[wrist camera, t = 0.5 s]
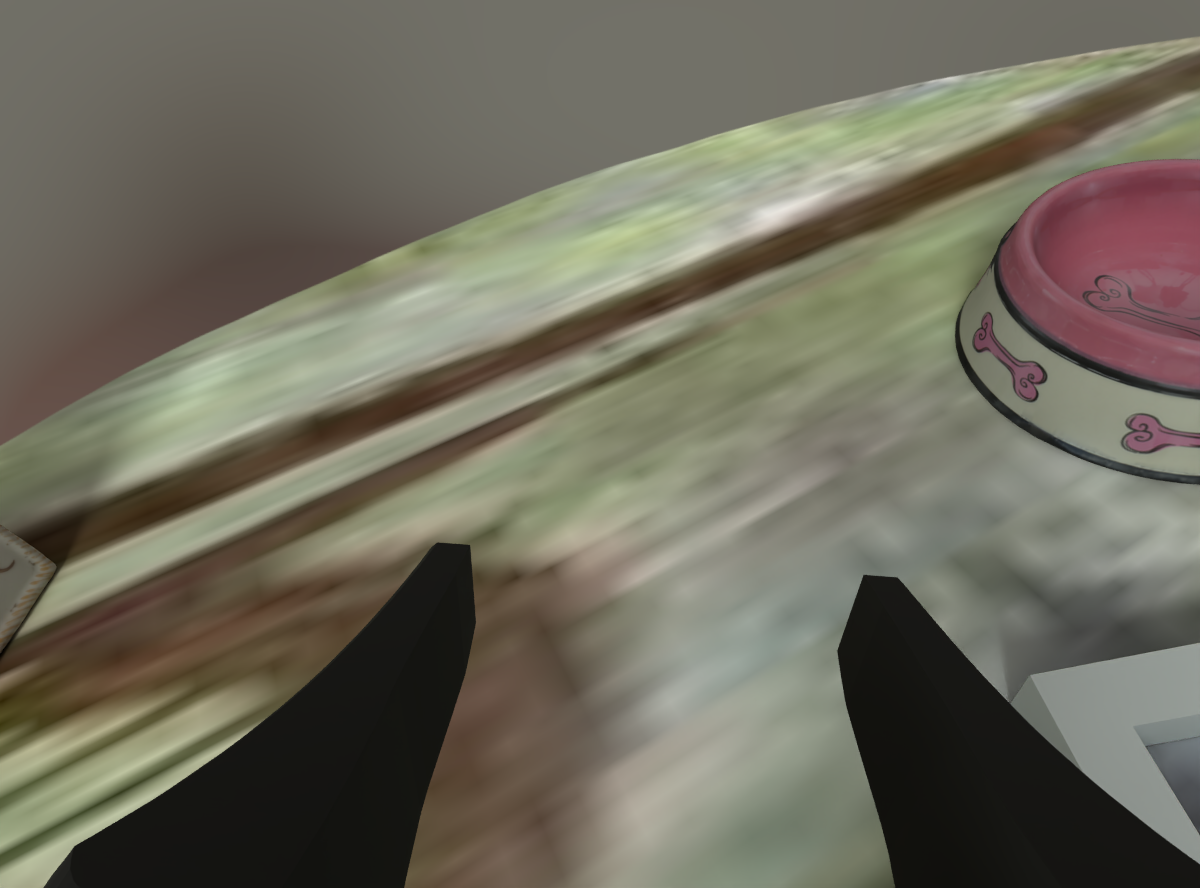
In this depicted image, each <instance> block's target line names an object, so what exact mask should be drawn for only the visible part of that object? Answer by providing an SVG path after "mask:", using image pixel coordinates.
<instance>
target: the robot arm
mask: <svg viewBox="0 0 1200 888" xmlns="http://www.w3.org/2000/svg"><path fill="white" fill-rule="evenodd" d="M475 624H476V617H475V604H474V591H473V577H472V564H471V551H470V545H463V544H450V543H436V544H435V545H434V546H432V547H431V549H430V550H429V551H428V553H427V554H426V555H425V556H424V558H423V559H422V560H421V562H420V563H419V564H418V565H417V567H416V568H415V569H414V570H413V572H412V573H411V574H410V575H409V577H408V578H407V579H406V580H405V582H404V583H403V584H402V585H401V586H400V588H399V589H398V590H397V591H396V592H395V594H394V595H393V596H392V597H391V598H390V599H389V600H388V602H387V603H386V604H385V605H384V606H383V607H382V608H381V609H380V611H379V612H378V613H377V614H376V615H375V616H374V617H373V618H372V620H371V621H370V622H369V623H368V624H367V625H366V626H365V627H364V628H363V629H362V631H361V632H360V633H359V634H358V635H357V636H356V637H355V638H354V639H353V640H352V641H351V642H350V643H349V644H348V645H347V646H346V647H345V648H344V649H343V650H342V651H341V652H340V653H339V654H338V655H337V656H336V657H335V658H334V659H333V660H332V661H331V662H330V663H329V664H328V665H327V666H326V667H325V668H324V669H323V670H322V671H321V672H320V673H318V674H317V675H316V676H315V677H314V678H313V679H312V680H311V681H310V682H309V683H308V684H307V685H305V686H304V687H303V688H302V689H301V690H300V691H299V692H297V693H296V694H295V695H294V696H293V697H292V698H291V699H289V700H288V701H287V702H286V703H285V704H284V705H282V706H281V707H280V708H279V709H278V710H276V711H275V712H274V713H273V714H271V715H270V716H269V717H268V718H266V719H265V720H264V721H263V722H261V723H260V724H259V725H258V726H256V727H255V728H254V729H253V730H251V731H250V732H249V733H248V734H246V735H245V736H244V737H242V738H241V739H240V740H238V741H237V742H236V743H235V744H233V745H232V746H230V747H229V748H228V749H226V750H225V751H224V752H222V753H221V754H219V755H218V756H217V757H215V758H214V759H212V760H211V761H209V762H208V763H206V764H205V765H204V766H202V767H201V768H199V769H198V770H196V771H195V772H193V773H192V774H191V775H189V776H188V777H186V778H185V779H183V780H182V781H180V782H179V783H177V784H176V785H175V786H173V787H172V788H170V789H169V790H167V791H166V792H164V793H163V794H161V795H159V796H158V797H156V798H155V799H153V800H152V801H150V802H148V803H147V804H145V805H143V806H142V807H140V808H138V809H137V810H135V811H133V812H132V813H130V814H128V815H127V816H125V817H123V818H122V819H120V820H118V821H117V822H115V823H113V824H112V825H110V826H108V827H107V828H105V829H103V830H102V831H100V832H98V833H97V834H95V835H93V836H92V837H90V838H88V839H86V840H84V841H83V842H81V843H79V844H77V845H76V846H74V848H73V849H72V850H71V852H70V853H69V854H68V856H67V857H66V858H65V860H64V861H63V862H62V863H61V865H60V866H59V867H58V868H57V870H56V871H55V872H54V873H53V875H52V876H51V878H50V879H49V880H48V882H47V883H46V885H45V886H44V888H404V885H405V881H406V876H407V872H408V867H409V863H410V858H411V854H412V850H413V845H414V841H415V837H416V832H417V828H418V823H419V819H420V815H421V811H422V807H423V804H424V800H425V797H426V793H427V790H428V787H429V783H430V780H431V777H432V774H433V771H434V768H435V765H436V762H437V759H438V756H439V753H440V750H441V747H442V744H443V741H444V738H445V735H446V732H447V729H448V726H449V723H450V720H451V717H452V714H453V711H454V708H455V704H456V701H457V698H458V695H459V692H460V689H461V686H462V683H463V680H464V676H465V673H466V668H467V664H468V659H469V654H470V649H471V644H472V639H473V634H474V629H475ZM837 652H838V659H839V665H840V672H841V679H842V685H843V690H844V696H845V702H846V706H847V710H848V714H849V717H850V721H851V724H852V728H853V731H854V734H855V738H856V741H857V745H858V748H859V752H860V755H861V758H862V762H863V765H864V768H865V772H866V775H867V778H868V782H869V785H870V789H871V792H872V795H873V799H874V802H875V805H876V809H877V812H878V815H879V819H880V822H881V825H882V829H883V833H884V837H885V841H886V845H887V849H888V853H889V858H890V863H891V868H892V873H893V878H894V884H895V888H1200V864H1199V863H1198V862H1196V861H1195V860H1193V859H1192V858H1191V857H1189V856H1188V855H1186V854H1185V853H1184V852H1182V851H1181V850H1180V849H1178V848H1177V847H1176V846H1174V845H1173V844H1172V843H1170V842H1169V841H1168V840H1166V839H1165V838H1164V837H1162V836H1161V835H1160V834H1158V833H1157V832H1156V831H1154V830H1153V829H1152V828H1150V827H1149V826H1148V825H1147V824H1145V823H1144V822H1143V821H1142V820H1140V819H1139V818H1138V817H1137V816H1135V815H1134V814H1133V813H1132V812H1130V811H1129V810H1128V809H1127V808H1125V807H1124V806H1123V805H1121V804H1120V803H1119V802H1118V801H1116V800H1115V799H1114V798H1113V797H1111V796H1110V795H1109V794H1108V793H1107V792H1105V791H1104V790H1103V789H1102V788H1101V787H1099V786H1098V785H1097V784H1096V783H1095V782H1093V781H1092V780H1091V779H1090V778H1089V777H1088V776H1086V775H1085V774H1084V773H1083V772H1082V771H1081V770H1080V769H1079V768H1077V767H1076V766H1075V765H1074V764H1073V763H1072V762H1071V761H1070V760H1069V759H1067V758H1066V757H1065V756H1064V755H1063V754H1062V753H1061V752H1060V751H1058V750H1057V749H1056V748H1055V747H1054V746H1053V745H1052V744H1051V743H1050V742H1048V741H1047V740H1046V739H1045V738H1044V737H1043V736H1042V735H1041V734H1040V733H1039V732H1038V731H1037V730H1036V729H1035V728H1034V727H1033V726H1032V725H1031V724H1030V723H1029V722H1028V721H1027V720H1026V719H1025V718H1024V717H1023V716H1022V715H1021V714H1020V713H1019V712H1018V711H1017V710H1016V709H1015V708H1014V707H1013V706H1012V705H1011V704H1010V703H1009V702H1008V701H1007V700H1006V699H1005V698H1004V697H1003V696H1002V695H1001V694H1000V693H999V692H998V691H997V690H996V689H995V688H994V687H993V686H992V685H991V684H990V683H989V682H988V680H987V679H986V678H985V677H984V676H983V675H982V674H981V673H980V672H979V671H978V670H977V669H976V667H975V666H974V665H973V664H972V663H971V662H970V661H969V660H968V659H967V658H966V656H965V655H964V654H963V653H962V652H961V651H960V650H959V649H958V647H957V646H956V645H955V644H954V643H953V642H952V641H951V639H950V638H949V637H948V636H947V635H946V634H945V632H944V631H943V630H942V629H941V628H940V627H939V625H938V624H937V623H936V622H935V621H934V620H933V618H932V617H931V616H930V615H929V614H928V613H927V611H926V610H925V609H924V608H923V607H922V605H921V604H920V603H919V602H918V601H917V600H916V598H915V597H914V596H913V595H912V594H911V592H910V591H909V590H908V589H907V588H906V587H905V585H904V584H903V583H902V582H901V581H900V580H899V579H898V578H897V577H884V576H871V575H863V578H862V581H861V584H860V587H859V590H858V593H857V596H856V598H855V601H854V604H853V607H852V610H851V613H850V616H849V619H848V621H847V624H846V627H845V630H844V633H843V636H842V639H841V642H840V644H839V647H838V650H837Z"/></svg>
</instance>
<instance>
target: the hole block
mask: <svg viewBox="0 0 1200 888" xmlns="http://www.w3.org/2000/svg"><path fill="white" fill-rule="evenodd" d="M1011 705H1012V706H1013V707H1014V708H1015V709H1016V710H1017V711H1018V712H1019V713H1020V714H1021V715H1022V716H1023V717H1024V718H1025V719H1026V720H1027V721H1028V722H1029V723H1030V724H1031V725H1032V726H1033V727H1034V728H1035V729H1036V730H1037V731H1038V732H1039V733H1040V734H1041V735H1042V736H1043V737H1044V738H1045V739H1046V740H1047V741H1048V742H1050V743H1051V744H1052V745H1053V746H1054V747H1055V748H1056V749H1057V750H1058V751H1060V752H1061V753H1062V754H1063V755H1064V756H1065V757H1066V758H1067V759H1069V760H1070V761H1071V762H1072V763H1073V764H1074V765H1075V766H1076V767H1077V768H1079V769H1080V770H1081V771H1082V772H1083V773H1084V774H1085V775H1086V776H1088V777H1089V778H1090V779H1091V780H1092V781H1093V782H1095V783H1096V784H1097V785H1098V786H1099V787H1101V788H1102V789H1103V790H1104V791H1105V792H1107V793H1108V794H1109V795H1110V796H1111V797H1113V798H1114V799H1115V800H1116V801H1118V802H1119V803H1120V804H1121V805H1123V806H1124V807H1125V808H1127V809H1128V810H1129V811H1130V812H1132V813H1133V814H1134V815H1135V816H1137V817H1138V818H1139V819H1140V820H1142V821H1143V822H1144V823H1145V824H1147V825H1148V826H1149V827H1150V828H1152V829H1153V830H1154V831H1156V832H1157V833H1158V834H1160V835H1161V836H1162V837H1164V838H1165V839H1166V840H1168V841H1169V842H1170V843H1172V844H1173V845H1174V846H1176V847H1177V848H1178V849H1180V850H1181V851H1182V852H1184V853H1185V854H1186V855H1188V856H1189V857H1191V858H1192V859H1193V860H1195V861H1196V862H1198V863H1199V864H1200V835H1199V833H1198V832H1197V830H1196V828H1195V827H1194V825H1193V823H1192V822H1191V820H1190V819H1189V817H1188V815H1187V814H1186V812H1185V810H1184V809H1183V807H1182V806H1181V804H1180V802H1179V801H1178V799H1177V797H1176V796H1175V794H1174V793H1173V791H1172V789H1171V788H1170V786H1169V784H1168V783H1167V781H1166V780H1165V778H1164V776H1163V775H1162V773H1161V771H1160V770H1159V768H1158V767H1157V765H1156V763H1155V762H1154V760H1153V758H1152V757H1151V755H1150V753H1149V752H1148V750H1147V749H1146V747H1145V746H1149V745H1154V744H1160V743H1165V742H1171V741H1176V740H1182V739H1187V738H1193V737H1198V736H1200V643H1196V644H1191V645H1185V646H1180V647H1175V648H1170V649H1164V650H1159V651H1154V652H1149V653H1143V654H1138V655H1133V656H1127V657H1122V658H1117V659H1112V660H1106V661H1101V662H1096V663H1091V664H1085V665H1080V666H1075V667H1069V668H1064V669H1059V670H1054V671H1048V672H1043V673H1038V674H1033V675H1029V677H1028V678H1027V680H1026V681H1025V683H1024V684H1023V686H1022V687H1021V689H1020V690H1019V692H1018V693H1017V695H1016V696H1015V698H1014V699H1013V701H1012V702H1011Z"/></svg>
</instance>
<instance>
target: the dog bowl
mask: <svg viewBox="0 0 1200 888" xmlns="http://www.w3.org/2000/svg"><path fill="white" fill-rule="evenodd" d="M955 337H956V348H957V351H958V355H959V359H960V361H961V363H962V366H963V368H964V370H965V372H966V374H967V375H968V377H969V378H970V380H971V381H972V383H973V384H974V385H975V387H976V388H977V389H978V390H979V392H980V393H981V394H982V395H983V396H984V397H985V398H986V399H987V400H988V401H989V402H990V403H991V404H992V406H994V407H995V408H996V409H997V410H998V411H999V412H1000V413H1002V414H1003V415H1004V416H1006V417H1007V418H1008V419H1009V420H1011V421H1012V422H1013V423H1015V424H1016V425H1018V426H1019V427H1021V428H1022V429H1024V430H1025V431H1027V432H1029V433H1030V434H1032V435H1033V436H1035V437H1037V438H1039V439H1041V440H1043V441H1045V442H1047V443H1049V444H1051V445H1053V446H1055V447H1057V448H1059V449H1061V450H1063V451H1065V452H1067V453H1070V454H1072V455H1074V456H1076V457H1078V458H1081V459H1083V460H1086V461H1089V462H1091V463H1094V464H1097V465H1100V466H1103V467H1106V468H1109V469H1113V470H1117V471H1120V472H1124V473H1127V474H1132V475H1136V476H1140V477H1145V478H1150V479H1156V480H1162V481H1170V482H1177V483H1187V484H1200V160H1193V159H1168V160H1149V161H1139V162H1131V163H1124V164H1119V165H1113V166H1109V167H1104V168H1100V169H1097V170H1093V171H1089V172H1086V173H1083V174H1081V175H1078V176H1075V177H1073V178H1070V179H1068V180H1066V181H1064V182H1062V183H1060V184H1058V185H1056V186H1054V187H1053V188H1051V189H1049V190H1048V191H1046V192H1045V193H1044V194H1042V195H1041V196H1040V197H1038V198H1037V199H1036V200H1035V201H1034V202H1033V203H1032V204H1031V205H1030V206H1029V207H1028V208H1027V209H1026V210H1025V211H1024V213H1023V214H1022V215H1021V217H1020V218H1019V219H1018V221H1017V222H1016V223H1015V224H1014V225H1013V226H1012V227H1011V228H1010V229H1009V230H1008V231H1007V232H1006V234H1005V235H1004V236H1003V238H1002V239H1001V241H1000V243H999V246H998V249H997V251H996V253H995V255H994V257H993V259H992V262H991V264H990V266H989V267H988V269H987V271H986V272H985V274H984V275H983V277H982V278H981V280H980V281H979V283H978V284H977V285H976V287H975V288H974V289H973V290H972V291H971V292H970V294H969V296H968V298H967V299H966V301H965V303H964V305H963V307H962V309H961V311H960V312H959V315H958V318H957V322H956V334H955Z"/></svg>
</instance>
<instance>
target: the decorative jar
mask: <svg viewBox="0 0 1200 888" xmlns="http://www.w3.org/2000/svg"><path fill="white" fill-rule="evenodd" d="M55 570H56V565H55V564H54V563H53V562H52V561H51V560H49V559H48V558H47V557H45V556H44V555H43V554H42V553H41V552H39V551H38V550H37V549H35V548H33V547H32V546H31V545H29V544H28V543H26V542H25V541H24V540H22V539H21V538H19V537H18V536H16V535H15V534H13V533H12V532H10V531H9V530H7V529H6V528H4V527H3V526H2V525H0V653H1V652H2V650H3V649H4V647H5V646H6V645H7V643H8V642H9V640H10V639H11V638H12V636H13V634H14V633H15V632H16V630H17V629H18V628H19V626H20V625H21V623H22V621H23V620H24V619H25V617H26V615H27V613H28V612H29V610H30V609H31V607H32V606H33V604H34V603H35V601H36V600H37V598H38V597H39V595H40V594H41V592H42V591H43V589H44V588H45V586H46V584H47V583H48V582H49V580H50V579H51V578H52V576H53V574H54V572H55Z"/></svg>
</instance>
